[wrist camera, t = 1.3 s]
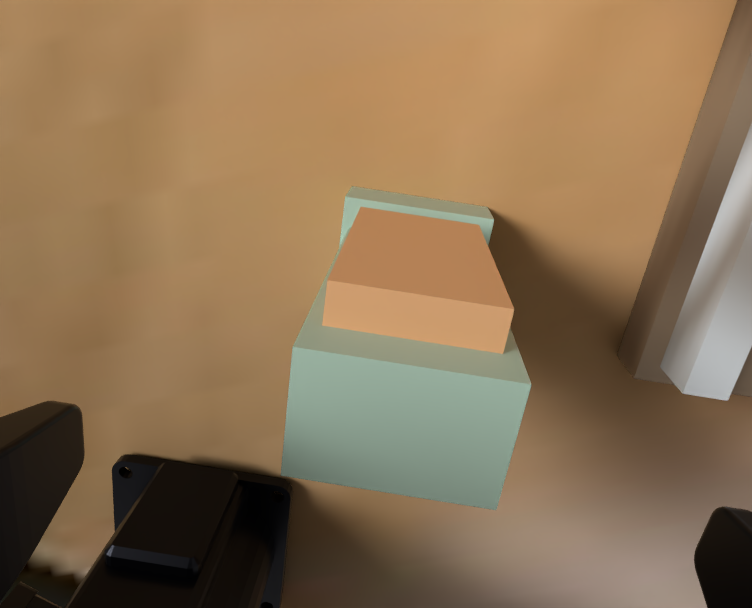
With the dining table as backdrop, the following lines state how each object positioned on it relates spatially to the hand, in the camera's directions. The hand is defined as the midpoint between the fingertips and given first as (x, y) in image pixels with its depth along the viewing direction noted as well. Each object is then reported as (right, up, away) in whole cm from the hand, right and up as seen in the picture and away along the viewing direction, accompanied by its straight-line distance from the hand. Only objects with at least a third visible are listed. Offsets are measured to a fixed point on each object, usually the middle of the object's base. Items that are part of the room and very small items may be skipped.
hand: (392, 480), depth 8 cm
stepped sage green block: (+1, +4, +9) cm, 10 cm away
